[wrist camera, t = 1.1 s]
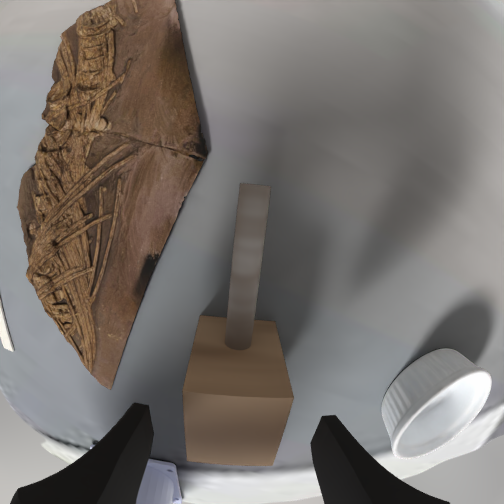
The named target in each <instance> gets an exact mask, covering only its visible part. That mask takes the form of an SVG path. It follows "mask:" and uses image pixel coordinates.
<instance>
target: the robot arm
mask: <svg viewBox="0 0 504 504" xmlns="http://www.w3.org/2000/svg"><path fill="white" fill-rule="evenodd" d="M153 436H154V432H153V427H152V422H151V416H150V410H149V405H144V404H139V403H133V404H132V405H131V407H130V408H129V409H128V410H127V412H126V413H125V414H124V415H123V417H122V418H121V419H120V420H119V421H118V422H117V424H116V425H115V426H114V427H113V428H112V429H111V430H110V431H109V432H108V433H107V434H106V435H105V436H104V437H103V438H102V439H101V440H100V441H99V442H98V443H97V444H96V445H94V444H93V445H91V446H90V450H89V451H88V452H87V453H86V454H84V455H83V456H82V457H80V458H79V459H78V460H76V461H75V462H74V463H72V464H70V465H69V466H67V467H66V468H64V469H63V470H61V471H59V472H57V473H56V474H53V475H52V476H49V477H47V478H45V479H43V480H41V481H38V482H36V483H33V484H30V485H27V486H24V487H21V488H18V489H17V491H16V493H15V494H14V496H13V498H12V501H11V503H10V504H172V503H177V504H181V503H182V497H181V491H180V486H179V481H178V475H177V469H176V465H175V464H173V463H170V462H164V461H158V460H153V459H149V456H150V452H151V447H152V442H153ZM311 451H312V459H313V464H314V468H315V471H316V475H317V479H318V482H319V486H320V489H321V493H322V496H323V500H324V504H450V503H449V502H447V501H444V500H441V499H438V498H435V497H432V496H430V495H428V494H425V493H423V492H421V491H419V490H417V489H415V488H413V487H412V486H410V485H408V484H406V483H405V482H403V481H401V480H400V479H398V478H397V477H395V476H394V475H393V474H391V473H390V472H389V471H387V470H386V469H385V468H384V467H383V466H381V465H380V464H379V463H378V462H377V461H376V460H375V459H374V458H373V457H372V456H371V455H370V454H369V453H368V452H367V451H366V450H365V449H364V448H363V447H362V446H361V445H360V444H359V443H358V442H357V440H356V439H355V438H354V437H353V436H352V435H351V433H350V432H349V431H348V430H347V429H346V427H345V426H344V425H343V424H342V423H341V421H340V420H339V419H338V418H337V416H336V415H329V416H322V417H321V420H320V422H319V424H318V427H317V429H316V432H315V434H314V436H313V438H312V441H311Z"/></svg>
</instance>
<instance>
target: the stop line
mask: <svg viewBox="0 0 504 504" xmlns="http://www.w3.org/2000/svg"><path fill="white" fill-rule="evenodd" d="M0 337H1V340H2V343H3V346H4V348H6V349H8V350H10V351H14V347H13V344H12V341H11V338H10V334H9V331H8V327H7V323H6V320H5V316H4V312H3V307H2V303H1V298H0Z"/></svg>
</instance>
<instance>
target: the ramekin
mask: <svg viewBox="0 0 504 504" xmlns="http://www.w3.org/2000/svg"><path fill="white" fill-rule="evenodd" d="M491 383H492V379H491V375H490V373H489V372H488V371H486V370H485V369H483V368H481V367H478V366H476V365H475V364H474V363H472V362H471V361H470V360H468V359H467V358H466V357H465V356H463V355H462V354H461V353H459V352H458V351H456V350H453V349H448V348H444V349H438V350H435V351H432V352H430V353H428V354H426V355H424V356H422V357H420V358H419V359H417V360H416V361H414V362H413V363H412V364H410V365H409V366H408V367H407V368H406V369H405V370H404V371H402V372H401V373H400V374H399V376H398V377H397V378H396V379H395V380H394V381H393V383H392V384H391V386H390V387H389V389H388V390H387V392H386V394H385V396H384V399H383V402H382V408H381V411H382V417H383V420H384V423H385V425H386V428H387V431H388V433H389V436H390V439H391V447H392V451H393V453H394V455H395V456H396V457H398V458H400V459H413V458H418V457H421V456H424V455H427V454H429V453H431V452H433V451H435V450H437V449H439V448H441V447H442V446H444V445H445V444H447V443H448V442H450V441H451V440H452V439H454V438H455V437H456V436H457V435H458V434H460V433H461V432H462V431H463V430H464V429H465V428H466V427H467V426H468V425H469V424H470V423H471V422H472V420H473V419H474V418H475V417H476V416H477V414H478V413H479V412H480V410H481V409H482V407H483V405H484V404H485V402H486V400H487V398H488V396H489V393H490V389H491Z"/></svg>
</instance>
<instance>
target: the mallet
mask: <svg viewBox="0 0 504 504" xmlns="http://www.w3.org/2000/svg"><path fill="white" fill-rule="evenodd" d="M270 192H271V187H270V186H264V185H255V184H245V183H240V188H239V197H238V207H237V216H236V226H235V236H234V246H233V256H232V267H231V277H230V288H229V299H228V311H227V318H225V317H215V316H205V315H200V318H199V322H198V326H197V330H196V334H195V338H194V343H193V347H192V351H191V355H190V360H189V364H188V368H187V373H186V377H185V382H184V386H183V391H182V393H183V413H184V429H185V442H186V454H187V461H191V462H199V463H209V464H222V465H242V466H272V465H273V463H274V460H275V457H276V454H277V451H278V448H279V445H280V442H281V439H282V436H283V432H284V429H285V426H286V423H287V420H288V416H289V413H290V410H291V406H292V403H293V399H294V396H293V392H292V388H291V384H290V380H289V376H288V372H287V368H286V364H285V359H284V355H283V351H282V347H281V343H280V339H279V335H278V331H277V327H276V323H275V321H263V320H254V319H255V311H256V304H257V296H258V288H259V280H260V273H261V265H262V257H263V249H264V241H265V233H266V225H267V217H268V208H269V200H270Z"/></svg>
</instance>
